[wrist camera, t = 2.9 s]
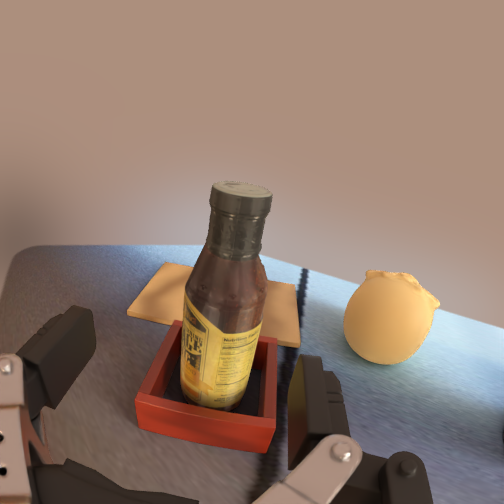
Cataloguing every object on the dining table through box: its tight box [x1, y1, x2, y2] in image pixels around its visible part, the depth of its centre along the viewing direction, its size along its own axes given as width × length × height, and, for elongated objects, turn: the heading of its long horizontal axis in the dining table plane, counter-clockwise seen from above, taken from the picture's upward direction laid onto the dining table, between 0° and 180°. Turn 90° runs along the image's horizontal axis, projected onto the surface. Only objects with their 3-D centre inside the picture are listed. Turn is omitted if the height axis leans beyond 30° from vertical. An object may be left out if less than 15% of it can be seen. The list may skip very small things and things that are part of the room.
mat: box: [127, 262, 301, 348], centre depth 45 cm, size 22×16×1 cm
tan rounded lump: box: [343, 270, 440, 365], centre depth 37 cm, size 12×12×11 cm
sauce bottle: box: [180, 181, 272, 412], centre depth 24 cm, size 7×6×20 cm
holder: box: [134, 320, 277, 453], centre depth 27 cm, size 11×12×4 cm
